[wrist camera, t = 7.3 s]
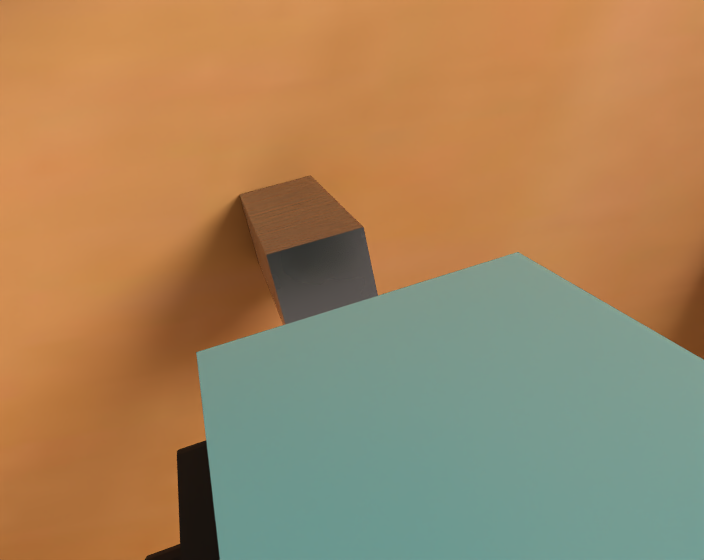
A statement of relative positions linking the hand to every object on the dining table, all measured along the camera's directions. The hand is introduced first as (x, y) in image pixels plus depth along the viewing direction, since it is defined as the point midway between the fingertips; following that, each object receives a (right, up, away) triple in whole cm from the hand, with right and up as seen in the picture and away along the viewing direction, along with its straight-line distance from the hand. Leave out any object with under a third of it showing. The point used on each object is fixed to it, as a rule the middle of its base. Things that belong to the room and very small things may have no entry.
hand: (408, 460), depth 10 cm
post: (-3, +5, +13) cm, 14 cm away
